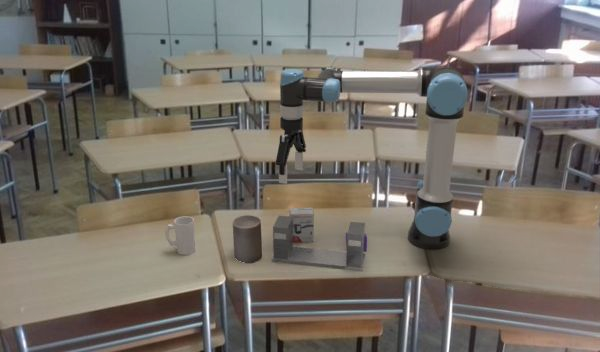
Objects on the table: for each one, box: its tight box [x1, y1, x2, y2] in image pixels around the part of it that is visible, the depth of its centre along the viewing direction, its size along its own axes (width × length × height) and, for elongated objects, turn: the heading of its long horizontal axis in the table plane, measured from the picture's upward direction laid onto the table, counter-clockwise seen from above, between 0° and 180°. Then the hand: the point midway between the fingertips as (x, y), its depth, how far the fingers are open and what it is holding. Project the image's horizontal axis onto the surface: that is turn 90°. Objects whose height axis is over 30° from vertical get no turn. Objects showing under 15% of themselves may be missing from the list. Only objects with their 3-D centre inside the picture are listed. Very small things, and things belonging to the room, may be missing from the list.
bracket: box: [345, 232, 368, 253], centre depth 208 cm, size 12×7×7 cm, turn 178°
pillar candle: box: [231, 215, 263, 264], centre depth 197 cm, size 10×10×15 cm
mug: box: [165, 215, 196, 256], centre depth 201 cm, size 10×7×12 cm, turn 101°
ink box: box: [289, 207, 315, 244], centre depth 209 cm, size 9×5×12 cm, turn 95°
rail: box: [271, 215, 366, 272], centre depth 196 cm, size 31×10×13 cm, turn 79°
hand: (291, 176), depth 199 cm, fingers open, 13 cm apart
